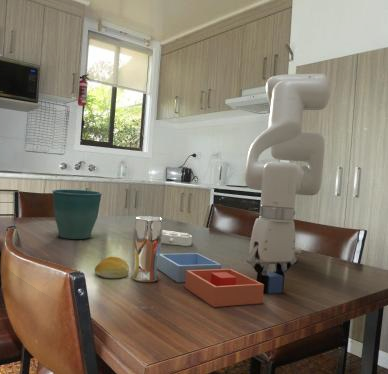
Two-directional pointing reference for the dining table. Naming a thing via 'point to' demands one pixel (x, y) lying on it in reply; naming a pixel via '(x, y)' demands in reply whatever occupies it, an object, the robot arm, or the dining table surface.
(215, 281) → the red block
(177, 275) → the blue bin
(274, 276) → the blue block
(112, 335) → the dining table surface
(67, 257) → the dining table surface
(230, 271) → the terracotta bin
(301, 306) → the dining table surface
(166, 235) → the white brass knuckles
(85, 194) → the flower pot
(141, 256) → the beer glass
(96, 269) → the bread roll
